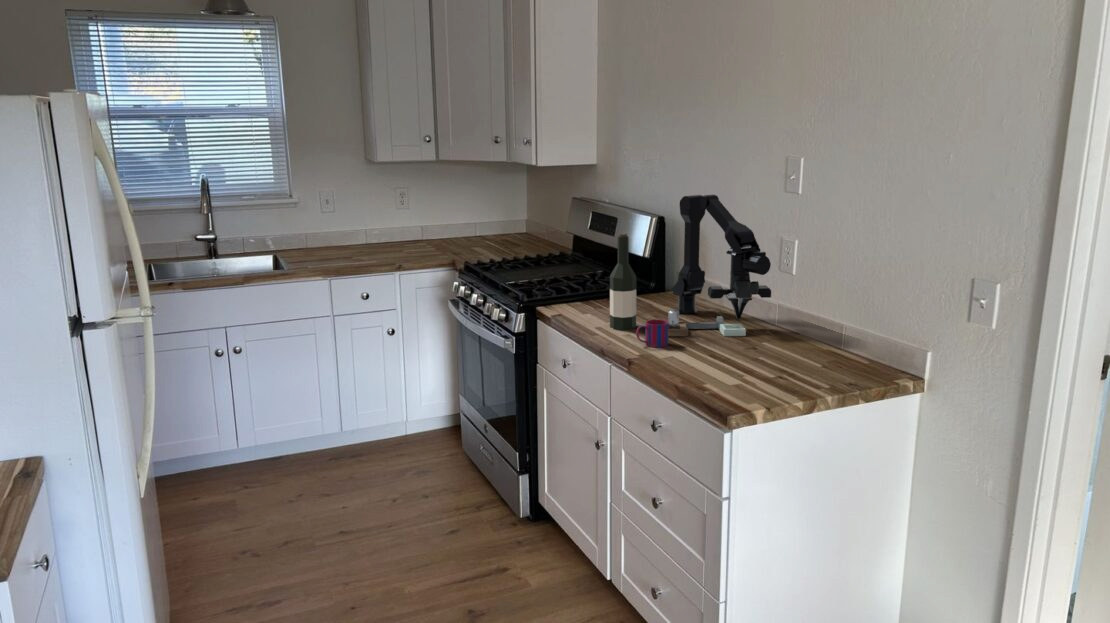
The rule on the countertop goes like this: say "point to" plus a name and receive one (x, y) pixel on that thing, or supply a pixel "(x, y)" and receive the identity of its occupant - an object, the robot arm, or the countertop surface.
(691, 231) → the robot arm
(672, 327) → the polished steel rod
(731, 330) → the tray
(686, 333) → the socket block
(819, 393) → the countertop surface
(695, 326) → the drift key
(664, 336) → the mug
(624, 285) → the wine bottle
